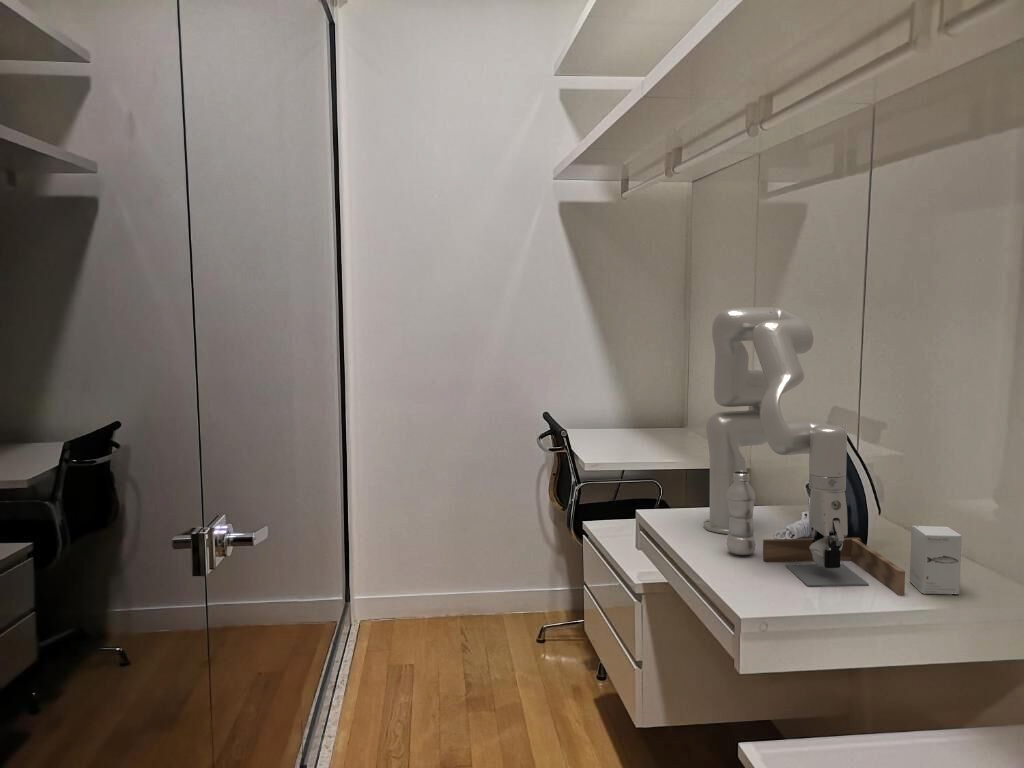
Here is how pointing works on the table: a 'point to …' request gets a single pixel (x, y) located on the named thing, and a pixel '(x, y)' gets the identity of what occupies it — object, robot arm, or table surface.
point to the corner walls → (850, 551)
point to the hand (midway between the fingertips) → (825, 561)
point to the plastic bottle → (741, 515)
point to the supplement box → (935, 559)
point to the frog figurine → (819, 551)
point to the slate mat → (826, 576)
